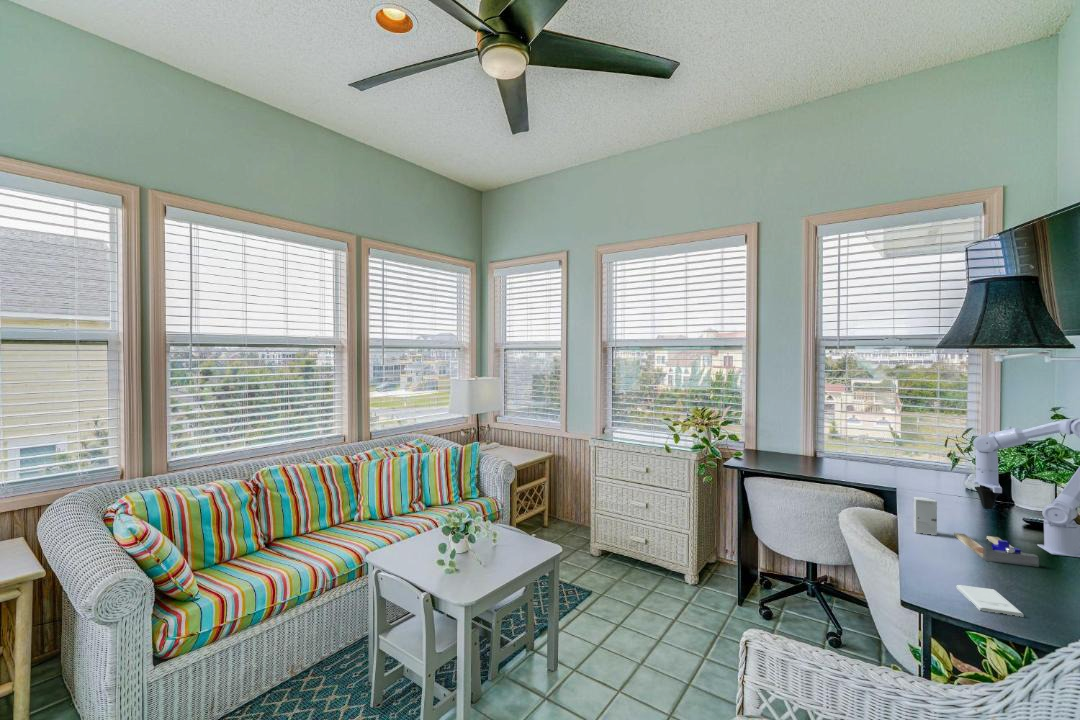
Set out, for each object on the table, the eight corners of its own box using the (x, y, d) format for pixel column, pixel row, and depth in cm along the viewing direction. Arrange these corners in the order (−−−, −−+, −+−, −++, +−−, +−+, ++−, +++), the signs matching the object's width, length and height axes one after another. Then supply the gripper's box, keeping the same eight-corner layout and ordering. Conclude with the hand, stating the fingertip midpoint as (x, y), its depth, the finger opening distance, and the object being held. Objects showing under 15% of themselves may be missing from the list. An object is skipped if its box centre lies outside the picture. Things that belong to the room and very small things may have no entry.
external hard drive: (995, 595, 123) (1023, 619, 112) (956, 590, 126) (980, 613, 115) (995, 589, 123) (1023, 612, 112) (956, 584, 126) (980, 606, 115)
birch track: (998, 540, 160) (997, 536, 160) (1034, 564, 140) (1034, 560, 140) (953, 535, 164) (953, 532, 164) (983, 558, 145) (983, 554, 145)
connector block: (1034, 564, 140) (1034, 550, 141) (1038, 567, 139) (1038, 552, 139) (983, 558, 145) (983, 544, 145) (986, 561, 143) (986, 547, 143)
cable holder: (992, 551, 151) (992, 539, 151) (1006, 553, 149) (1006, 540, 149) (1005, 561, 143) (1005, 548, 143) (1021, 563, 142) (1020, 550, 142)
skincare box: (915, 533, 167) (915, 499, 167) (913, 529, 171) (912, 496, 171) (937, 536, 164) (937, 501, 164) (934, 532, 168) (934, 498, 168)
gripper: (962, 464, 172) (963, 501, 172) (982, 473, 159) (983, 513, 159) (987, 465, 170) (988, 503, 170) (1009, 474, 156) (1010, 515, 156)
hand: (987, 508), depth 164 cm, fingers closed
